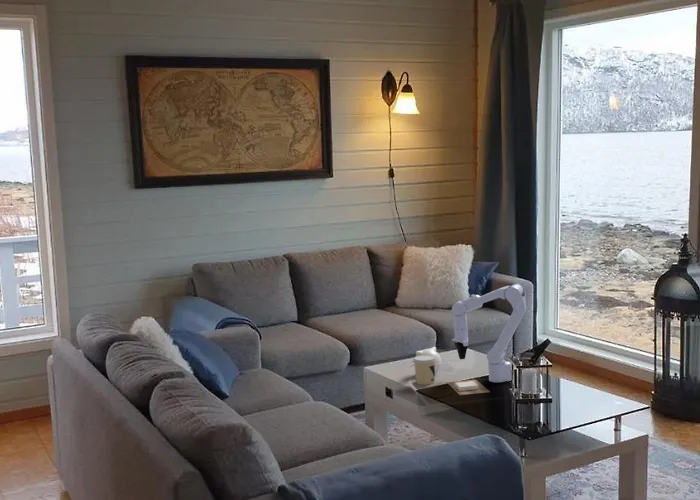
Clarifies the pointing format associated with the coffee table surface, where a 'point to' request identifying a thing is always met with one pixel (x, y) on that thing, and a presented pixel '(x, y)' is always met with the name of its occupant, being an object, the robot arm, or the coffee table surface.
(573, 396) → the coffee table surface
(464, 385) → the tile
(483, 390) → the board
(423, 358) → the coffee cup
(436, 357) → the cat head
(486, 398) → the coffee table surface
